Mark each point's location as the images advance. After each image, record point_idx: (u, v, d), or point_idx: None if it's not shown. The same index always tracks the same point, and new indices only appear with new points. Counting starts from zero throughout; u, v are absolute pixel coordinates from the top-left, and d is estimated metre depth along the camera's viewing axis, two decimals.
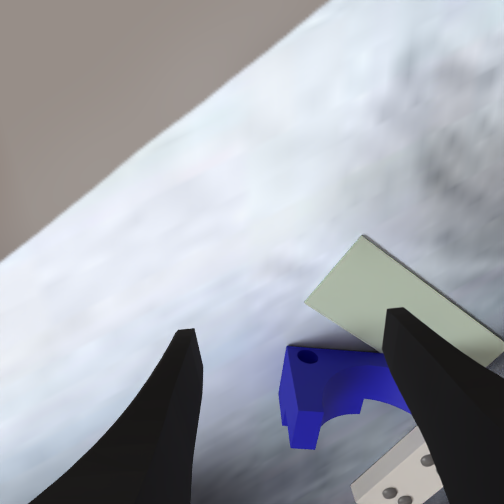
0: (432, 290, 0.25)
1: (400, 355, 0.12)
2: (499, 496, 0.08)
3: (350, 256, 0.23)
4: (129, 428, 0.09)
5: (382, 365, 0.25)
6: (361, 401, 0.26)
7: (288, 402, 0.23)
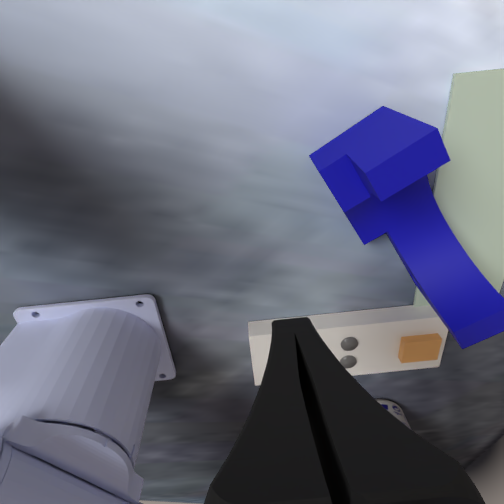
0: None
1: (298, 365, 0.12)
2: None
3: None
4: (272, 414, 0.09)
5: (440, 212, 0.20)
6: (382, 232, 0.21)
7: (370, 142, 0.16)
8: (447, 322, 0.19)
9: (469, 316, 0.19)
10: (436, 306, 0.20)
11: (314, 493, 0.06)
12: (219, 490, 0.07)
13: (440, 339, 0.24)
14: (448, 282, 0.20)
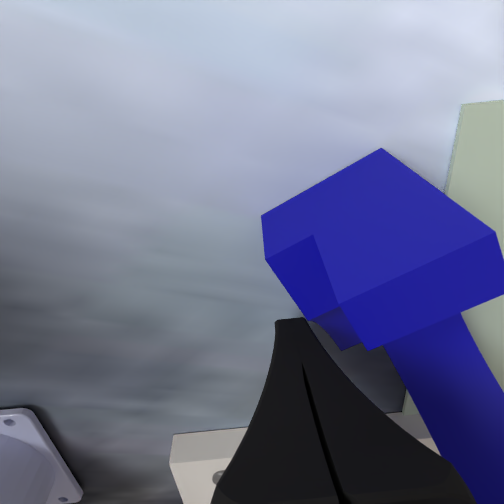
0: None
1: None
2: None
3: None
4: (277, 414, 0.09)
5: (460, 313, 0.13)
6: None
7: (355, 222, 0.09)
8: None
9: (500, 495, 0.12)
10: None
11: (321, 492, 0.06)
12: (226, 489, 0.07)
13: None
14: (466, 422, 0.13)
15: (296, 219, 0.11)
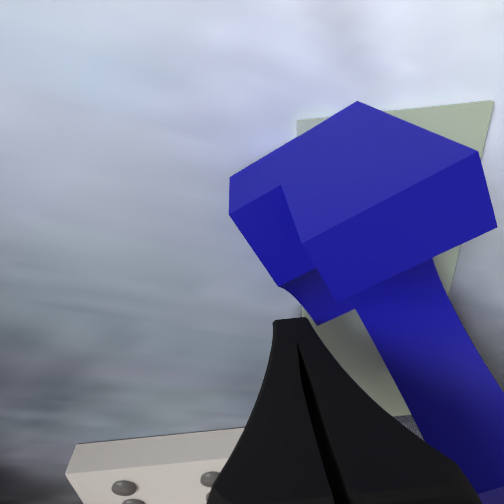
0: (449, 282, 0.14)
1: None
2: None
3: (443, 116, 0.11)
4: (274, 414, 0.09)
5: (441, 283, 0.12)
6: (346, 310, 0.13)
7: (326, 167, 0.08)
8: None
9: (483, 473, 0.11)
10: (426, 439, 0.12)
11: (316, 493, 0.06)
12: (221, 490, 0.07)
13: None
14: (447, 399, 0.12)
15: (265, 174, 0.10)
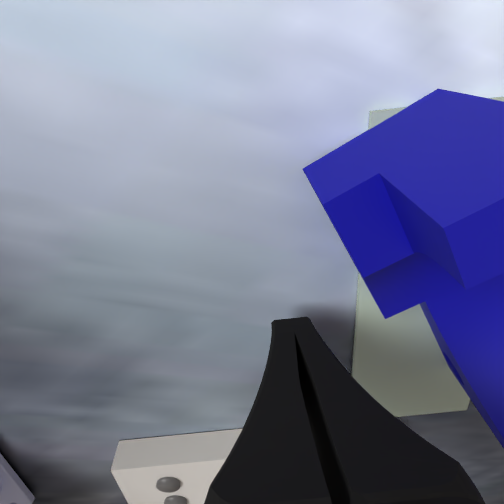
0: None
1: (298, 365, 0.12)
2: None
3: None
4: (272, 414, 0.09)
5: None
6: (415, 302, 0.12)
7: (433, 154, 0.08)
8: None
9: None
10: (502, 433, 0.12)
11: (314, 493, 0.06)
12: (219, 490, 0.07)
13: None
14: None
15: (350, 164, 0.10)
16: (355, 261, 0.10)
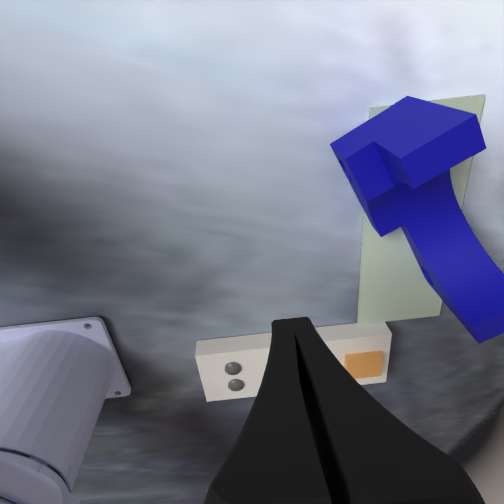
0: None
1: (298, 365, 0.12)
2: None
3: (455, 104, 0.19)
4: (272, 414, 0.09)
5: (458, 206, 0.20)
6: (399, 225, 0.20)
7: (400, 130, 0.16)
8: (464, 316, 0.19)
9: (487, 310, 0.19)
10: (452, 300, 0.20)
11: (314, 493, 0.06)
12: (219, 490, 0.07)
13: (381, 357, 0.25)
14: (465, 276, 0.20)
15: (358, 138, 0.18)
16: (362, 192, 0.18)
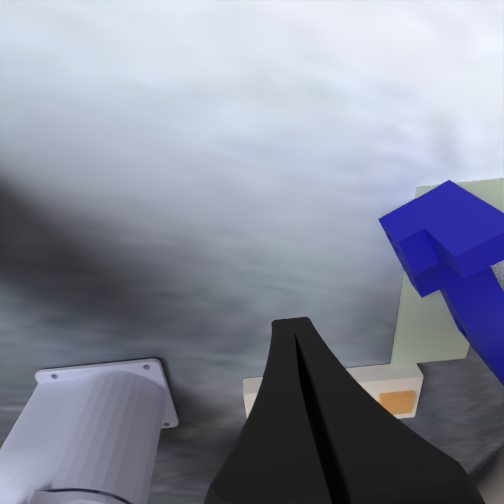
0: None
1: (298, 365, 0.12)
2: None
3: (492, 185, 0.21)
4: (272, 414, 0.09)
5: (492, 271, 0.22)
6: (438, 288, 0.23)
7: (449, 221, 0.18)
8: (499, 372, 0.21)
9: None
10: (487, 356, 0.22)
11: (314, 493, 0.06)
12: (219, 490, 0.07)
13: (413, 396, 0.27)
14: (498, 334, 0.22)
15: (408, 220, 0.20)
16: (411, 267, 0.20)
